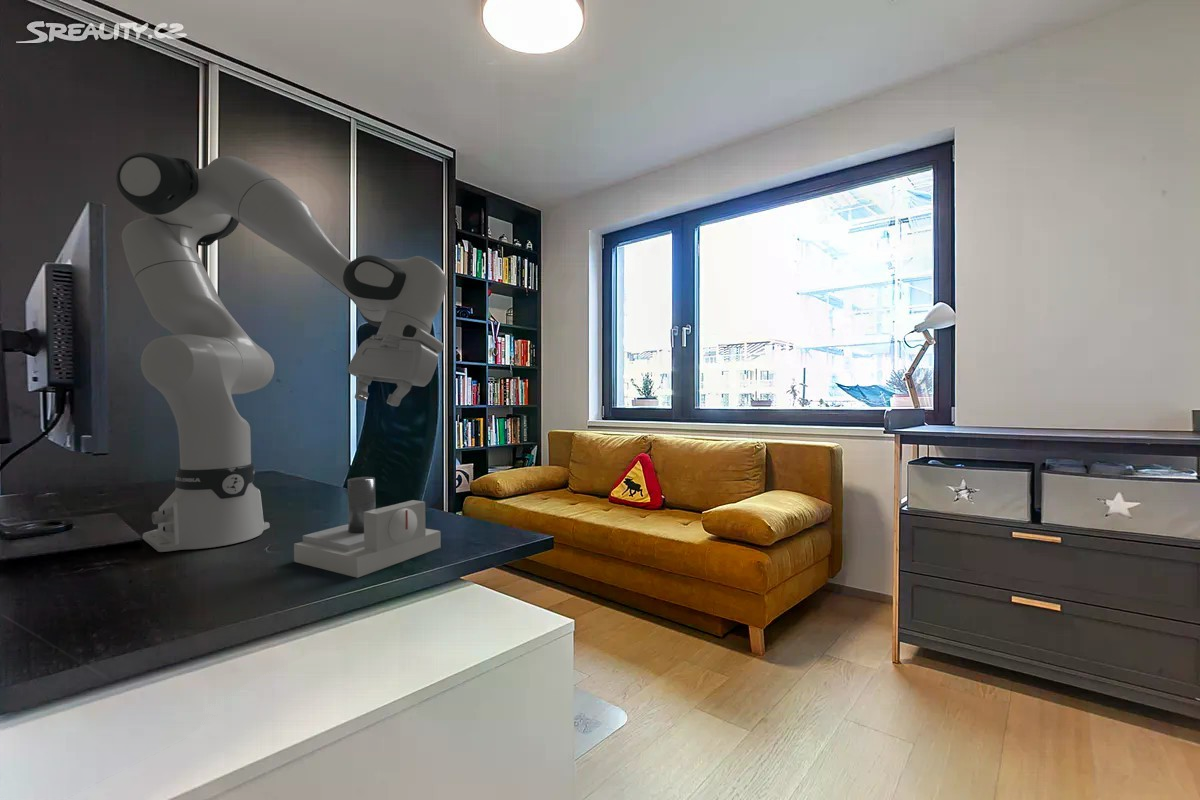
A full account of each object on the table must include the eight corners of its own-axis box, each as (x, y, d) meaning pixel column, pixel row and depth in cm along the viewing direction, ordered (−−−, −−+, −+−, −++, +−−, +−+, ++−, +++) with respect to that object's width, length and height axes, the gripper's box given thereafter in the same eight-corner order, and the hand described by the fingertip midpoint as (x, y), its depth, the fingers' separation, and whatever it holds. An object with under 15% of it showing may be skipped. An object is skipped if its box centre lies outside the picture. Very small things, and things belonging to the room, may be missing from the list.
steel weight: (342, 531, 90) (341, 479, 90) (364, 525, 94) (364, 476, 93) (359, 534, 88) (358, 481, 88) (381, 528, 92) (380, 477, 91)
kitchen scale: (294, 561, 86) (293, 507, 86) (380, 536, 101) (379, 490, 101) (359, 578, 78) (359, 519, 78) (442, 547, 93) (442, 498, 93)
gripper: (356, 327, 103) (328, 391, 99) (426, 330, 92) (397, 401, 89) (381, 341, 108) (355, 403, 104) (450, 345, 98) (424, 414, 94)
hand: (375, 402), depth 96 cm, fingers open, 8 cm apart
